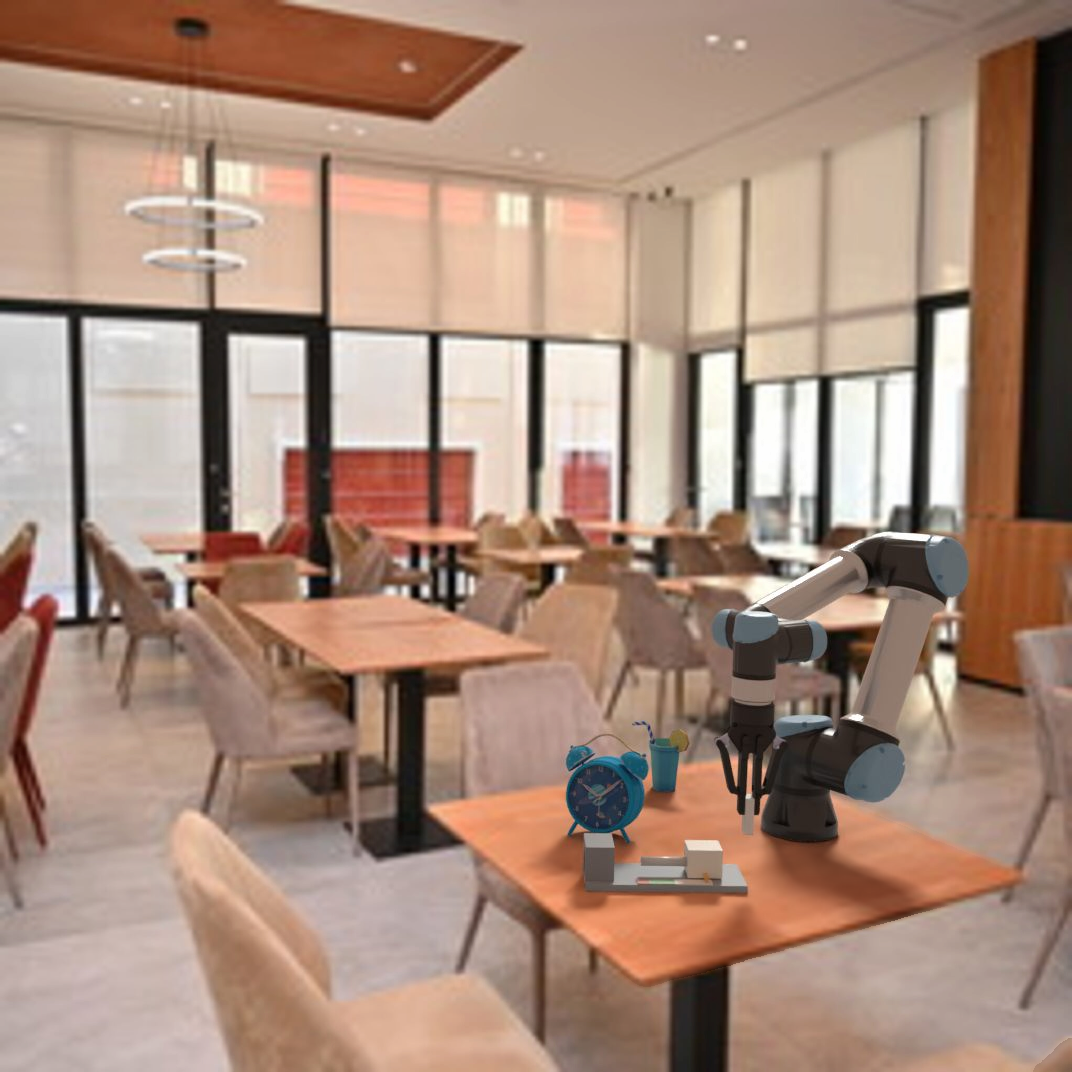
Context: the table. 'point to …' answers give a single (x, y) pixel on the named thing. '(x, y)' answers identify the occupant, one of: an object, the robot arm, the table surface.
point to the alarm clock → (605, 788)
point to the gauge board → (647, 873)
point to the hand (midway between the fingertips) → (747, 832)
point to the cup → (665, 758)
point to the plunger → (694, 859)
